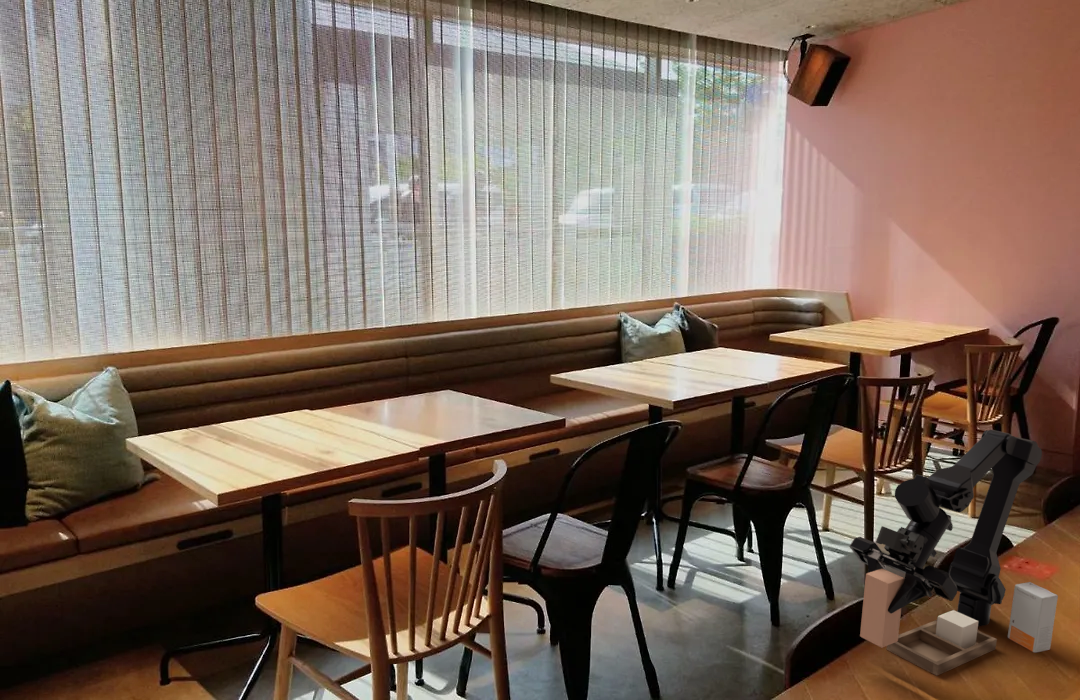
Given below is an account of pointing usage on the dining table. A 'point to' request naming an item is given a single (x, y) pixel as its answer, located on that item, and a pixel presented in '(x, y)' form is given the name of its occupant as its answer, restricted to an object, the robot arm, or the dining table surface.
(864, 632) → the terracotta peg
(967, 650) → the walnut slot tray
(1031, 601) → the skincare box
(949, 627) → the cream block
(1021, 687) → the dining table surface
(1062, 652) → the dining table surface
